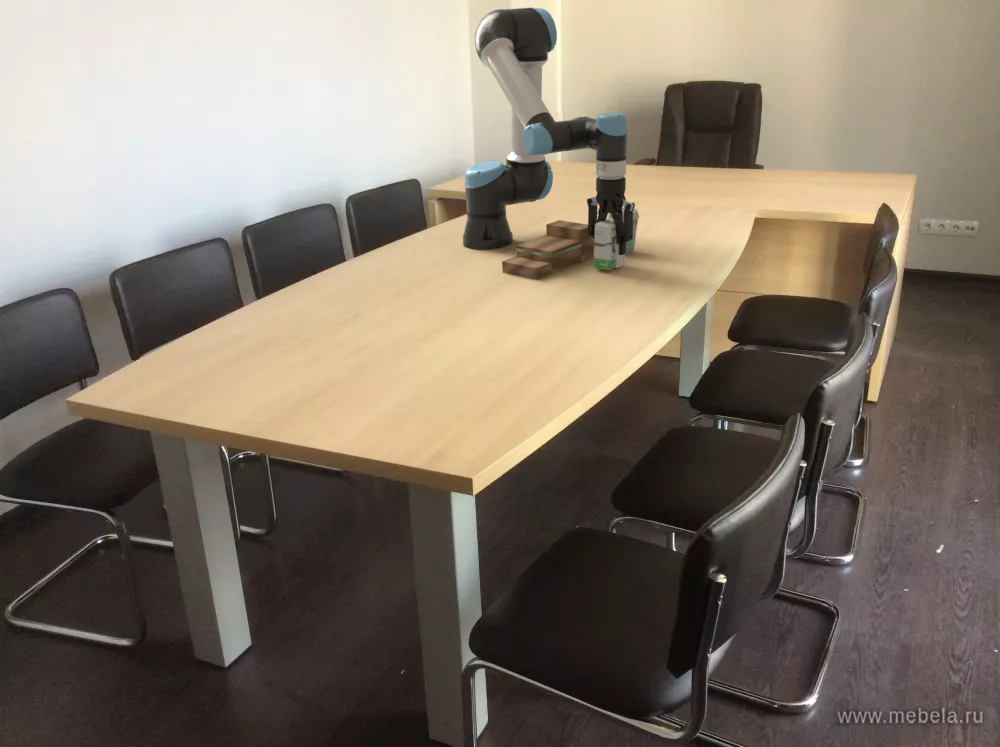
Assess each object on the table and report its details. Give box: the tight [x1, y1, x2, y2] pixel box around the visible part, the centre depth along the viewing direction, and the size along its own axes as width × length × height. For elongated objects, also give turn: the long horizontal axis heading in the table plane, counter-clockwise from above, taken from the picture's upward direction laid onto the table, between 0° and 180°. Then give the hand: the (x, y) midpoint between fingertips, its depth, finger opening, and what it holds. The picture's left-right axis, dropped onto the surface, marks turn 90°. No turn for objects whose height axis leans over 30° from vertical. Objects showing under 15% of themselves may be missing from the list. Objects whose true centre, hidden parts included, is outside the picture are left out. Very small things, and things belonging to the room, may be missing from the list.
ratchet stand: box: [501, 220, 595, 280], centre depth 228 cm, size 12×25×9 cm, turn 138°
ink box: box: [593, 218, 626, 271], centre depth 222 cm, size 9×5×12 cm, turn 143°
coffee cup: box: [607, 207, 640, 256], centre depth 236 cm, size 9×9×12 cm
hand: (609, 264), depth 224 cm, fingers closed on ink box, 5 cm apart
